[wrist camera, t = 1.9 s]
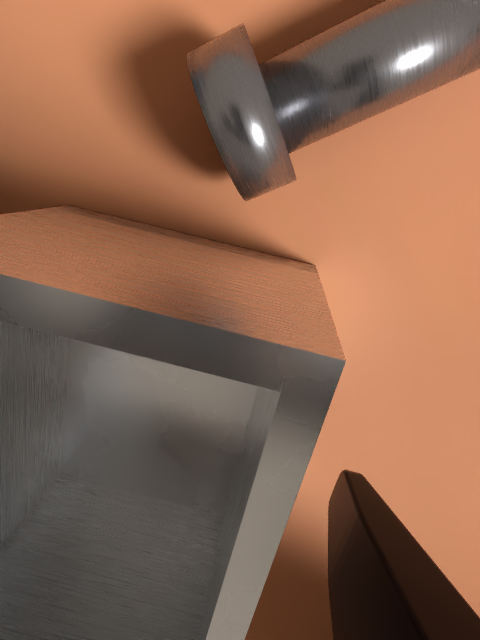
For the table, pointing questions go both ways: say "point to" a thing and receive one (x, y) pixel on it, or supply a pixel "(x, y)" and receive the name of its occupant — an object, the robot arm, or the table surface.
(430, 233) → the table surface
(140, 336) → the box
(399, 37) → the loose bolt
